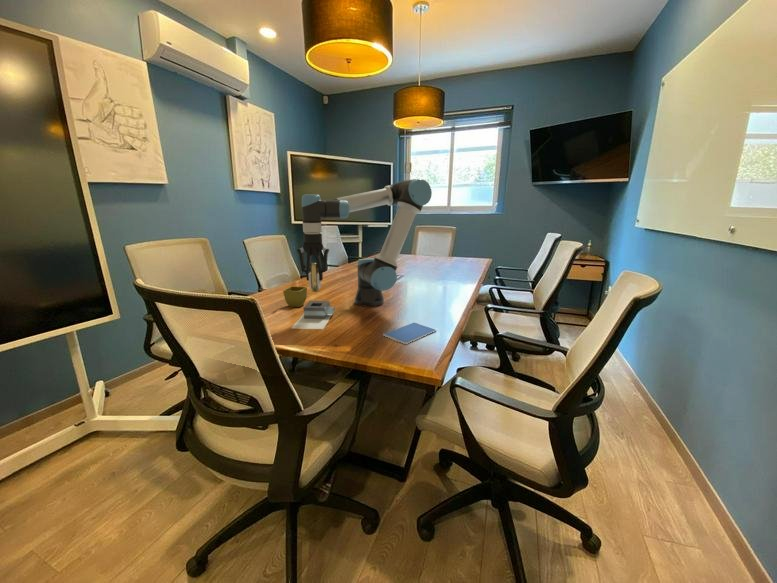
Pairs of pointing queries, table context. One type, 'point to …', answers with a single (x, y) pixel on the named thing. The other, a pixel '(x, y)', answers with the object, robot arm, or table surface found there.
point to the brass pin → (314, 277)
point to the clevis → (317, 309)
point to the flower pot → (295, 296)
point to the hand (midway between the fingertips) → (315, 287)
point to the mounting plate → (311, 323)
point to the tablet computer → (409, 333)
